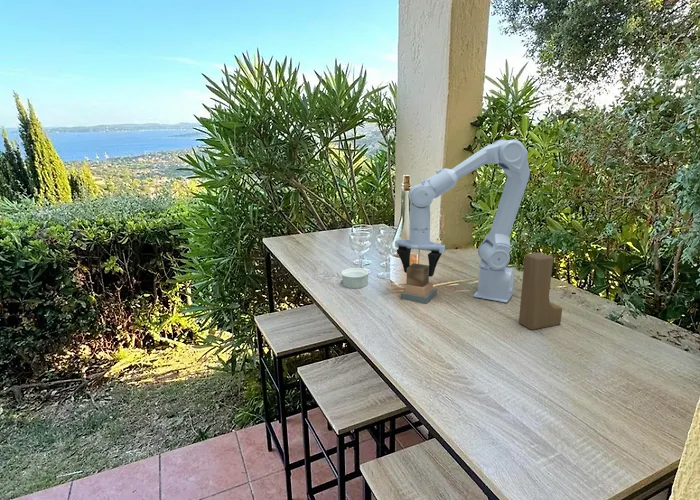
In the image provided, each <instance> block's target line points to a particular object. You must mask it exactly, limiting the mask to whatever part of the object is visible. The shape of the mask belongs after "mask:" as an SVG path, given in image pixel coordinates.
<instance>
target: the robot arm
mask: <svg viewBox="0 0 700 500" xmlns="http://www.w3.org/2000/svg"><path fill="white" fill-rule="evenodd" d="M528 153H529V151H528V150H527V148H526V147H525V146H524V144H523V143H522V142H521V141H520V140H517V139H509V140H508V139H507V140H506V139H498V140H495V141H494V142H493V143H492V144H491V143H490V144H488V145H486V146H484V147H482V148H481V149H479V150H478V151H476V152H475V153H474V154H472V155H471V156H469V157H467V158H466V159H465V160H463V161H462V162H460V163H459V164H457V165H455V166H454V167H452V168H451V169H450V168H446V167H445V168H442V169H441V168H438V169H437V170H436V171H435V172H436V173H435V174H433V175H431V176H430V177H428V178H427V179H421V181H420V182H421V183H419V184H415V185H413V186H412V187H410V190H409V192H408V195H407V196H408V199H409V201H410V206H409V237H408V239H395V240H394V247H395V248H396V253H397V255H398V257H399V259H400V261H401V264H402V267H403V272H404V273H406V274H407V267H409V266H410V265H411V264H410V263H411V261H410V260H411V250H419V251H425V252H426V251H428V253H427V258H428V265H429V278H432V277H433V276H434V275H435V270H436V266H437V264H438V263H439V260H440V258H441V257H442V254H444V253H445V252H446V244H440V243H436V242H432V241H431V204H432V203H433V202H434V201H433V200H434V199H437V198H438V197H440V196H442V195H444V194H445V193H447V192H448V191H450V190H452V189H453V188H455V187H456V185H457V182H458V180H459V179H461V178H463V177H465V176H466V175H468V174H469V173H471V172H473V171H475V170H477V169H479V168H480V167H482V166H484V165H497V166H499V167H500V168H501V169H502V171H503V173H504V174H505V175H506V176H507V177H506V181H505V184H504V188H503V190H502V193H501V196H500V200H499V202H498V205H497V208H496V212H495V215H494V218H493V221H492V224H491V228H490V231H489V232H488V233H487V234H486V235H485V237H484V239H483V241H482V242H481V243H480V244H479V246H478V248H477V254H478V256H479V258H480V262H479V266H478V279H477V280H478V281H477V283H478V285H477V290H476V291H475V293H474V294H473V295H472V296H473V298H477V299H483V300H484V299H485V300H489V301H494V302H501V303H505V304H506V303H508V302H509V301H510V299H511V297H512V295H513V294H514V293H513V291H514V279H515V271H514V269H513V268H509V267H507V266H508V265H509V263H510V260H511V255H510V250H511V247H512V245H511V239H510V236H511V232H512V229H513V226H514V224H515V221H516V218H517V214H518V212H519V209H520V206H521V202H522V200H523V198H524V193H525V190H526V187H527V185H528V182H529V179H530V176H531V171H530V166H529V161H528ZM397 248H398V249H397Z"/></svg>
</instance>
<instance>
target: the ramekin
mask: <svg viewBox="0 0 700 500" xmlns="http://www.w3.org/2000/svg"><path fill="white" fill-rule="evenodd" d="M369 274H370V273H369V270H368V269H365V268H363V267H351V268H350V267H349V268H346V269H343V270H342V271H341V279H342V285H343V286H344V287H345V288H348V289H355V290H356V289H361V288H365V287H367V285H368V281H369Z"/></svg>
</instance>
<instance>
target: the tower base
mask: <svg viewBox="0 0 700 500" xmlns="http://www.w3.org/2000/svg"><path fill="white" fill-rule="evenodd" d="M437 294H438V289H437V288H434V287H433V291H431V292H430V293H429V294H427V295H426V296H424V297H422V296H418V295H414V294H409V293H405V289H404V290H403V291H402V292H400V300H404V301H410V302H415V303H419V304H424V305H427V304H428V303H430V302H431V300H432V299H434V297H436V296H437Z"/></svg>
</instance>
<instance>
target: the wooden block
mask: <svg viewBox="0 0 700 500" xmlns="http://www.w3.org/2000/svg"><path fill="white" fill-rule="evenodd" d="M523 261H524V262H523V273H522V284H521V293H520V305H519V316H518V323H519V324H520V325H522V326H524V327H525V328H527V329H529V330H531V331H533V330H538V329H543V328H547V327H553V326H557V325H561V321H562V316H563V315H562V314H563V307H561V306H559V305H557V304H555V303H553V302H551V301H550V292H551V291H550V290H551V282H552V281H551V280H552V273H553V264H554V263H553V262H554V256H551V255H549V254H546V253H542V252H531V253H526V254H525V255H524V260H523Z"/></svg>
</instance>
